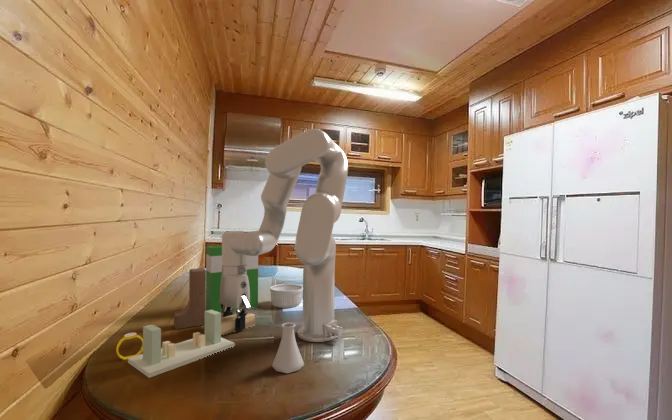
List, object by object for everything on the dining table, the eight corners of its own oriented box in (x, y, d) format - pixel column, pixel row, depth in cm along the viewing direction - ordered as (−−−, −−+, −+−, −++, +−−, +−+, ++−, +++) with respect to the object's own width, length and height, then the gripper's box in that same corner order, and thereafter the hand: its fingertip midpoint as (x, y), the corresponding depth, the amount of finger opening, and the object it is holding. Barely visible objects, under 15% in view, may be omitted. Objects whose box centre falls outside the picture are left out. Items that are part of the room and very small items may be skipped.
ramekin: (309, 303, 135) (309, 286, 135) (288, 311, 123) (288, 292, 123) (284, 298, 142) (284, 282, 142) (262, 305, 130) (262, 288, 131)
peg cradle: (234, 346, 90) (234, 313, 90) (149, 377, 73) (149, 337, 73) (210, 336, 98) (210, 305, 98) (127, 362, 80) (128, 325, 81)
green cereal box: (251, 302, 135) (251, 243, 135) (257, 307, 129) (258, 245, 129) (205, 309, 125) (206, 246, 125) (210, 314, 119) (211, 247, 119)
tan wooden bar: (254, 327, 107) (255, 314, 107) (219, 337, 98) (219, 323, 98) (246, 323, 110) (246, 311, 110) (211, 332, 101) (212, 319, 101)
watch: (117, 363, 81) (115, 339, 80) (116, 360, 83) (114, 336, 82) (145, 355, 84) (144, 332, 84) (144, 352, 86) (142, 329, 86)
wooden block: (175, 330, 103) (175, 272, 103) (173, 325, 107) (174, 270, 107) (205, 325, 108) (206, 269, 108) (203, 321, 111) (203, 267, 112)
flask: (289, 357, 84) (289, 317, 84) (309, 365, 79) (309, 324, 79) (266, 367, 78) (266, 325, 78) (287, 377, 74) (287, 332, 74)
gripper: (261, 271, 102) (261, 330, 102) (228, 266, 112) (228, 319, 112) (240, 275, 96) (240, 337, 96) (208, 269, 107) (208, 325, 106)
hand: (233, 327), depth 104 cm, fingers open, 5 cm apart
